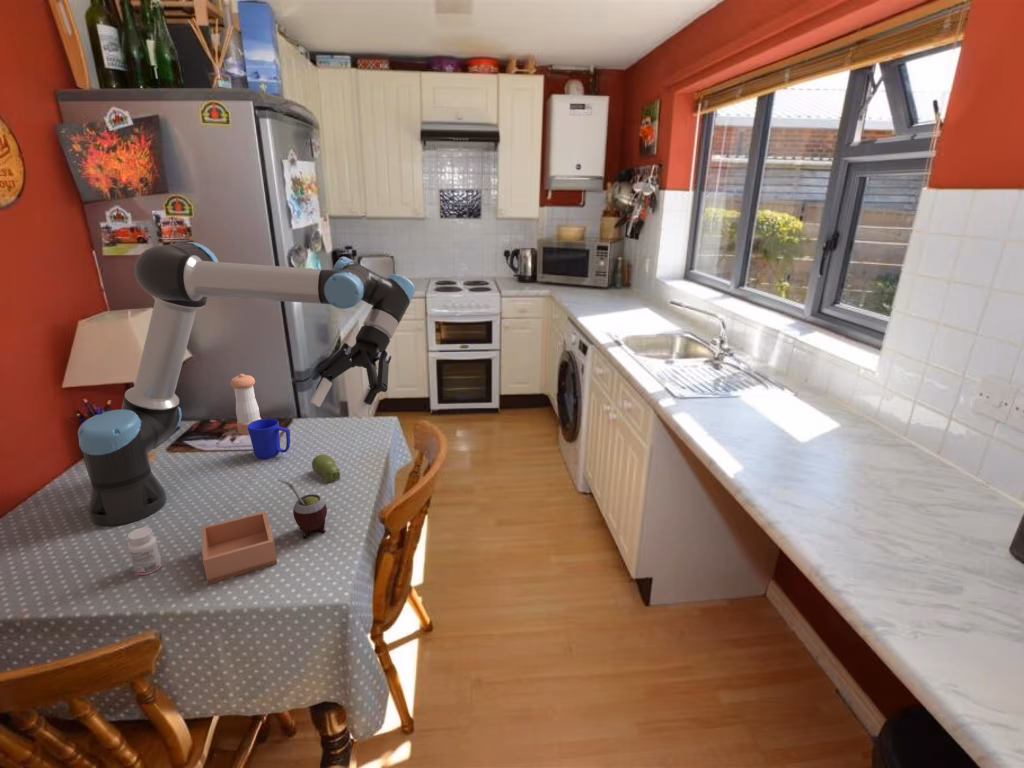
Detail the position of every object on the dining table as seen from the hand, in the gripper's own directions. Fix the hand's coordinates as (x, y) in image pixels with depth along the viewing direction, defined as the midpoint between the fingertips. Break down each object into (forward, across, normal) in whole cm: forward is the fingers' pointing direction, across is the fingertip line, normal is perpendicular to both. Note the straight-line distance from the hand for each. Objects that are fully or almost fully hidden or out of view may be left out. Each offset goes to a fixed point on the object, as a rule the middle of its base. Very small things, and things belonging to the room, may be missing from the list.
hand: (335, 410), depth 121 cm
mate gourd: (+26, 0, -11) cm, 28 cm away
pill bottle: (+44, +18, +7) cm, 48 cm away
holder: (+36, +6, -1) cm, 36 cm away
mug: (+12, +39, -25) cm, 48 cm away
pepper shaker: (+6, +61, -31) cm, 69 cm away
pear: (+12, +17, -25) cm, 32 cm away
